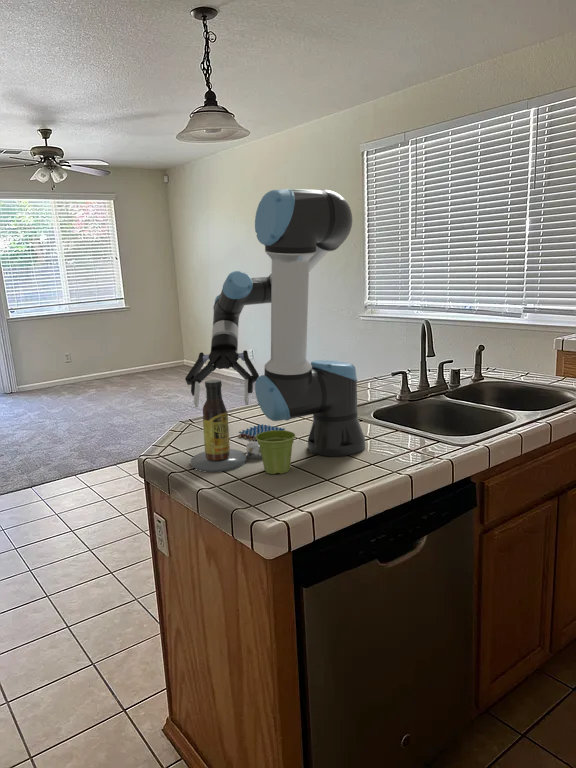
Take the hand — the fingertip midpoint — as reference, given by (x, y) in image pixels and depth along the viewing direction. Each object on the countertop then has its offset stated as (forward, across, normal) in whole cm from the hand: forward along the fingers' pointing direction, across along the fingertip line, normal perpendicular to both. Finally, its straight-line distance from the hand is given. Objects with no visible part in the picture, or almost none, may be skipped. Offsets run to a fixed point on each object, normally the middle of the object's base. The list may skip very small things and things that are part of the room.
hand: (221, 403), depth 151 cm
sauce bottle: (+16, 0, -1) cm, 16 cm away
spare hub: (+13, -10, -5) cm, 17 cm away
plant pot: (+22, -15, +3) cm, 27 cm away
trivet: (+16, 0, -2) cm, 16 cm away
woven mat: (+1, -9, -18) cm, 20 cm away
